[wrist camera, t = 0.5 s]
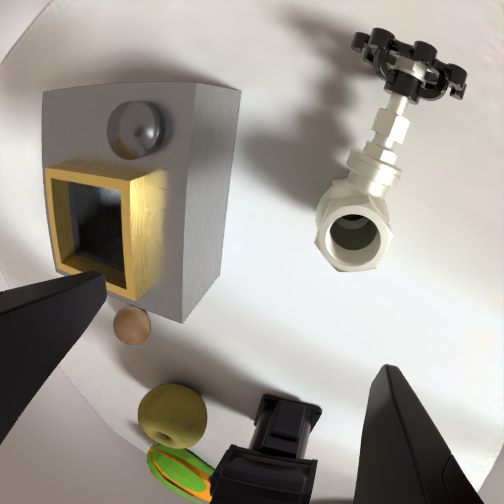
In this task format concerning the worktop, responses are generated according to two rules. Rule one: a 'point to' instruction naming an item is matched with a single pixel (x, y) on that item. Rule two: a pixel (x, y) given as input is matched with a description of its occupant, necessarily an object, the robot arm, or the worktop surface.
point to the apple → (173, 415)
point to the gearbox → (140, 187)
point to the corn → (180, 471)
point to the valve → (380, 151)
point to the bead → (132, 325)
